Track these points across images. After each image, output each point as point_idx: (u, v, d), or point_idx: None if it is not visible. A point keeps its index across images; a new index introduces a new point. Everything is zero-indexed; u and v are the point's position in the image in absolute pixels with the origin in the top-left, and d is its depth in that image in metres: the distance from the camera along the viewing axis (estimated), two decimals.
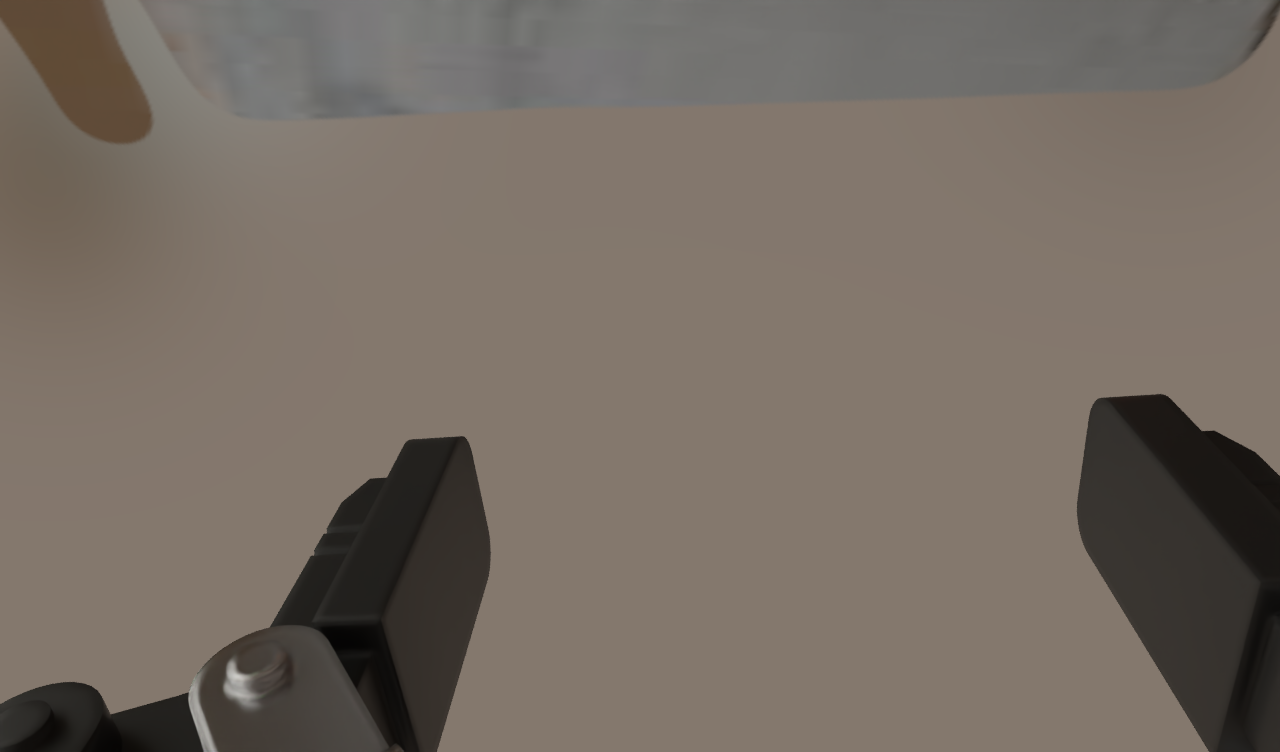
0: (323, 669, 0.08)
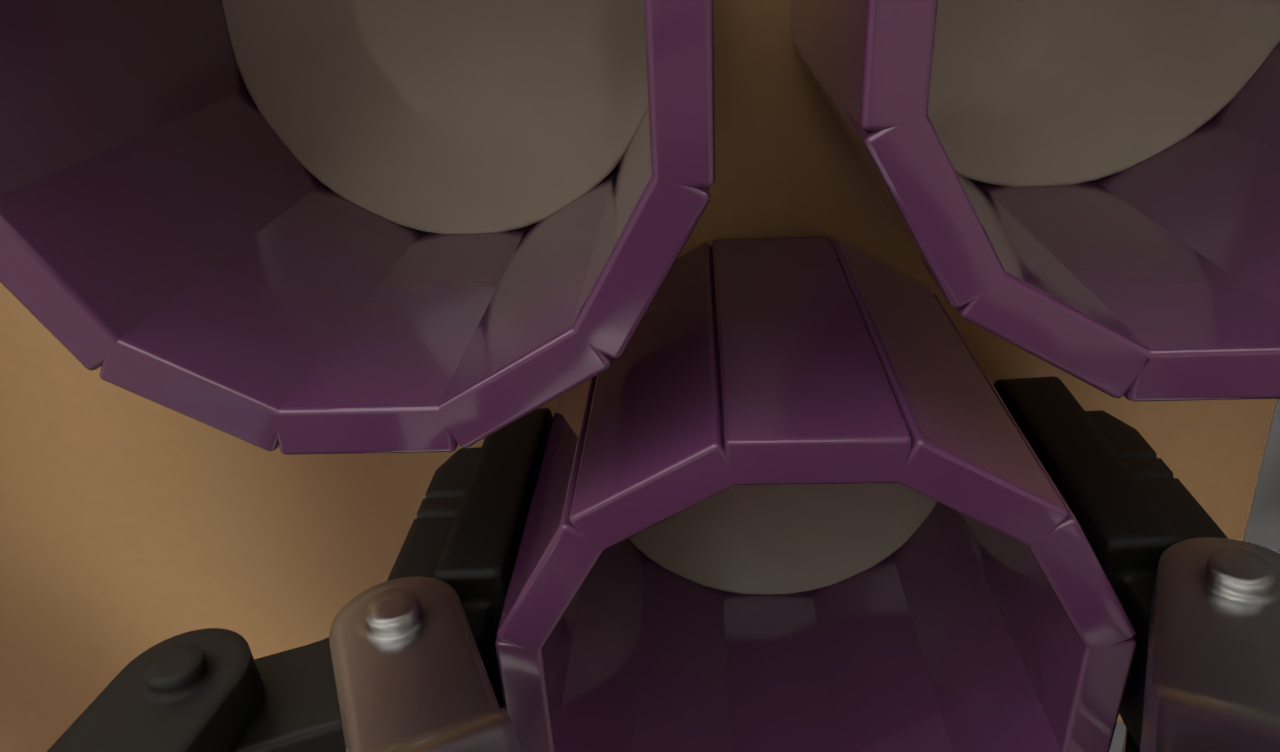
0: (455, 615, 0.08)
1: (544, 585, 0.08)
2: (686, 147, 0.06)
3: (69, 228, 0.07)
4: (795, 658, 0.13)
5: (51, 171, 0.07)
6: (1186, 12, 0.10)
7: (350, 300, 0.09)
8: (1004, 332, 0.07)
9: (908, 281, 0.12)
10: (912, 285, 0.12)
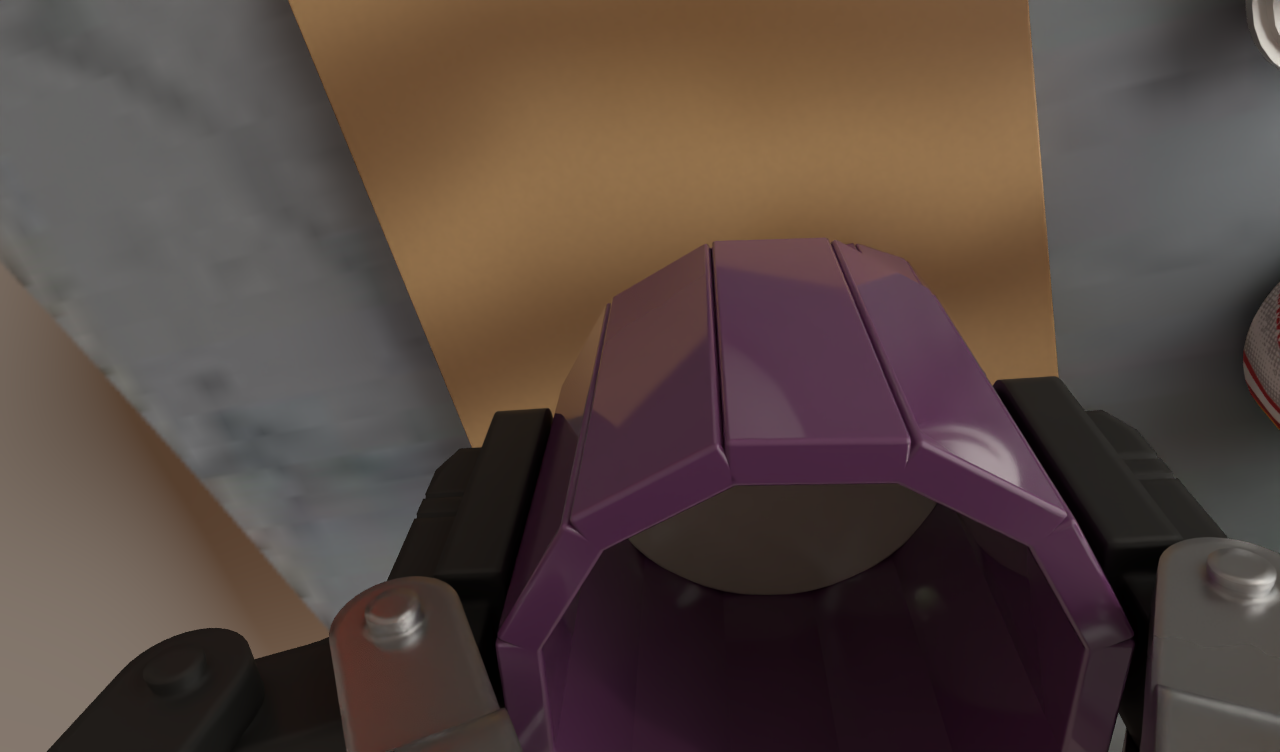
0: (455, 615, 0.08)
1: (545, 585, 0.08)
2: None
3: None
4: (795, 658, 0.13)
5: None
6: None
7: None
8: None
9: (908, 282, 0.12)
10: (912, 286, 0.12)
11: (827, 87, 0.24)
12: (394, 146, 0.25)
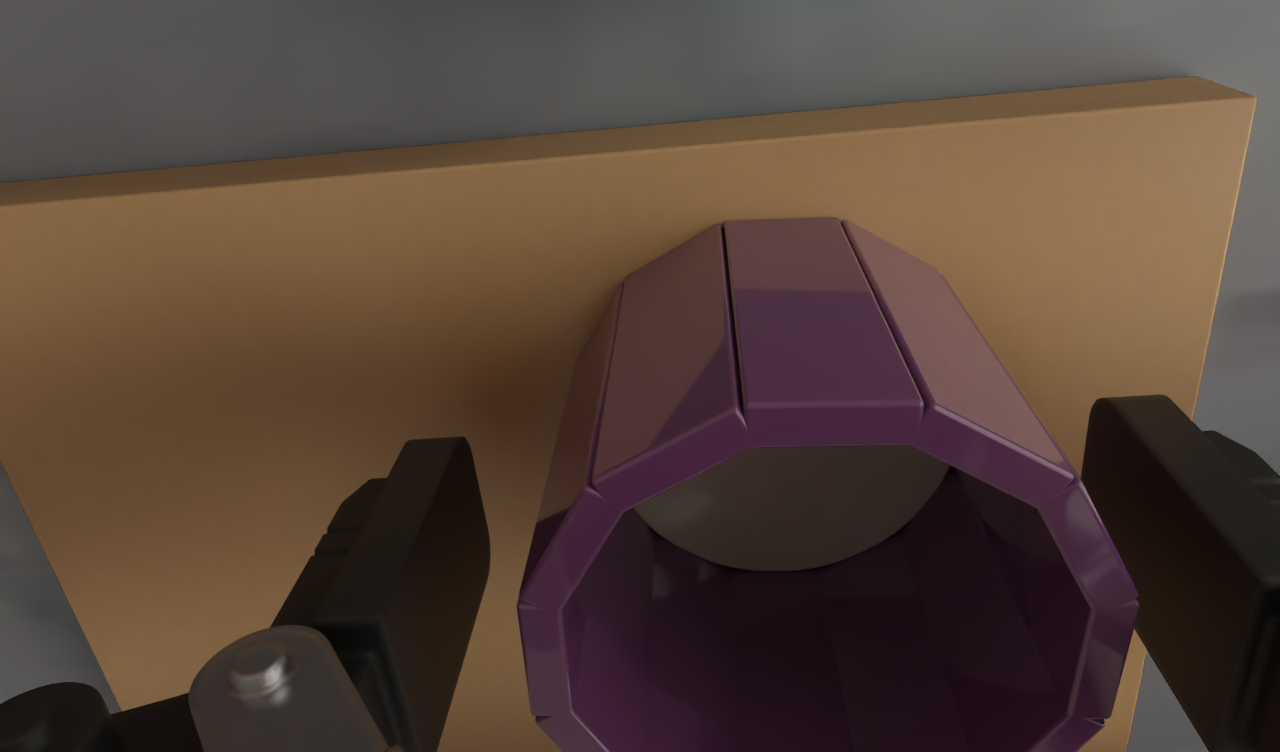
0: (323, 669, 0.08)
1: (566, 546, 0.08)
2: None
3: None
4: (803, 631, 0.13)
5: None
6: None
7: None
8: None
9: (916, 261, 0.12)
10: (920, 265, 0.12)
11: None
12: (99, 514, 0.15)
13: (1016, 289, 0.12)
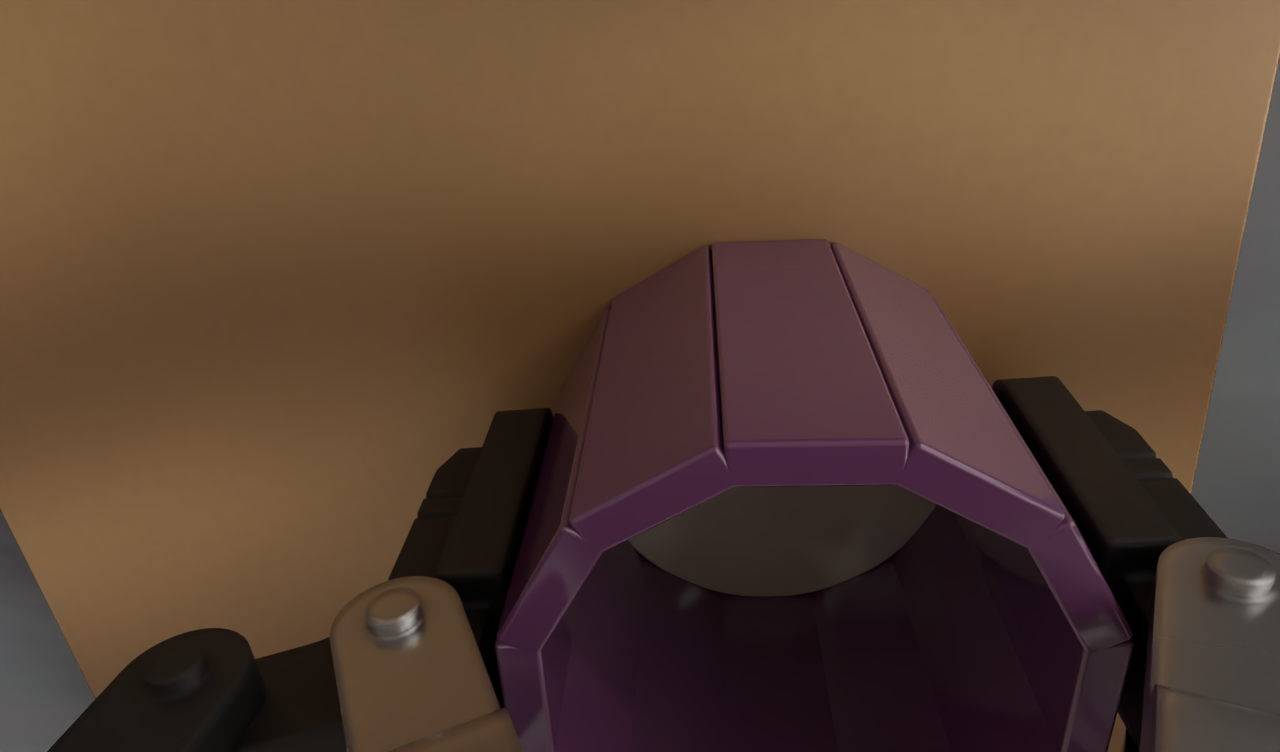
0: (456, 615, 0.08)
1: None
2: None
3: None
4: None
5: None
6: None
7: None
8: None
9: None
10: None
11: None
12: None
13: None
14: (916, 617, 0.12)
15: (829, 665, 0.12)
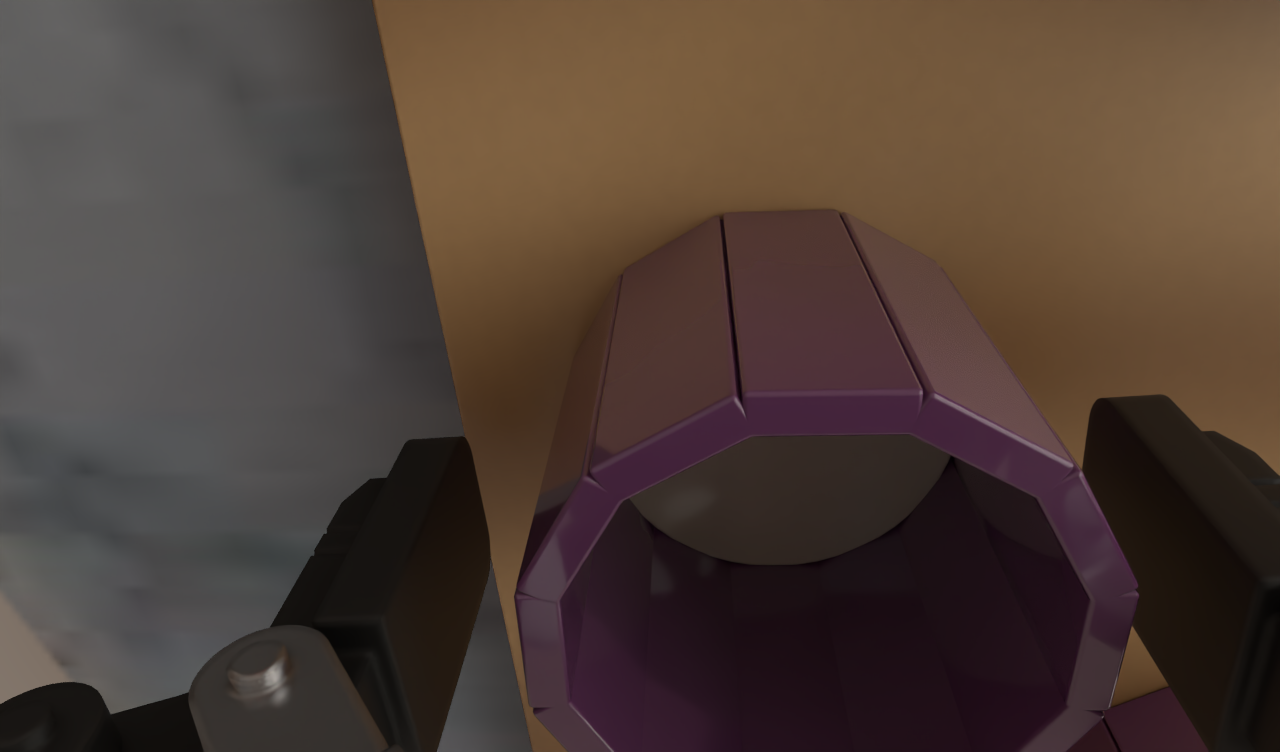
0: (323, 669, 0.08)
1: None
2: None
3: None
4: None
5: None
6: None
7: None
8: None
9: None
10: None
11: None
12: None
13: None
14: (922, 582, 0.12)
15: (836, 630, 0.13)
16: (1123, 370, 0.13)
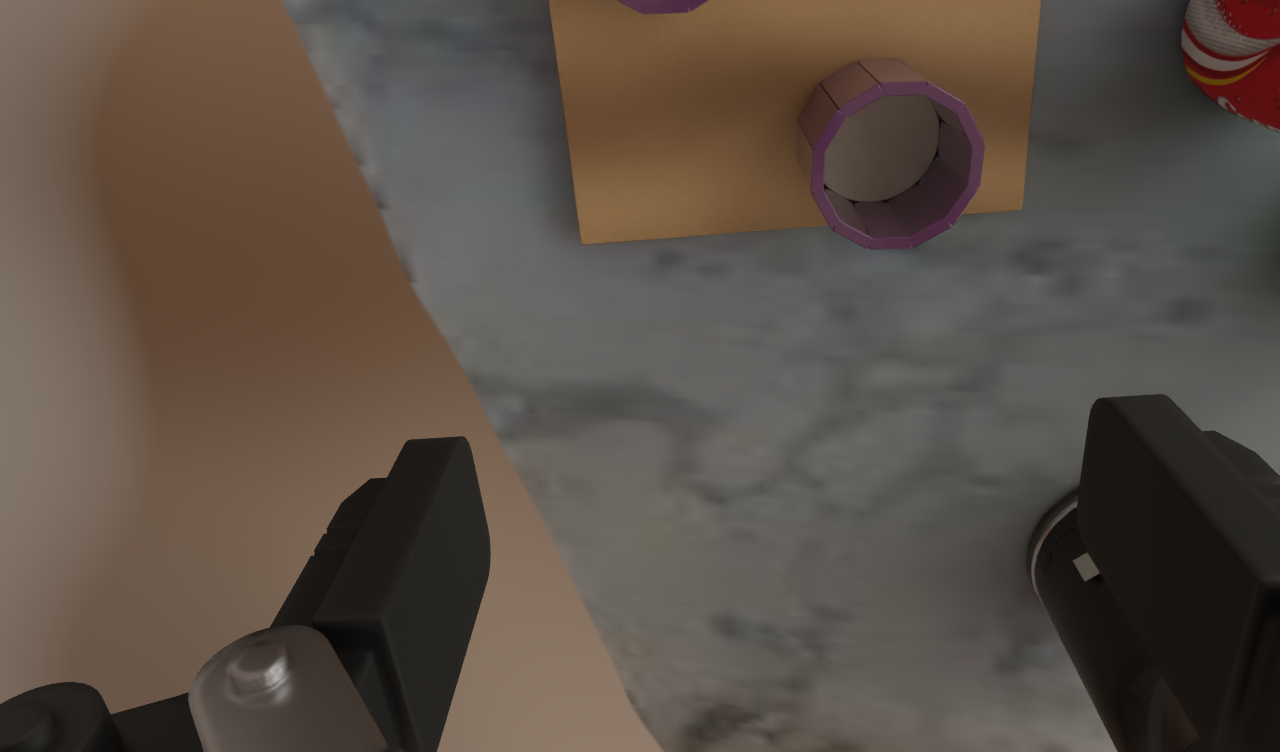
0: (323, 669, 0.08)
1: None
2: (651, 8, 0.30)
3: None
4: None
5: None
6: (856, 171, 0.36)
7: None
8: (832, 120, 0.31)
9: None
10: None
11: None
12: None
13: None
14: None
15: None
16: None
